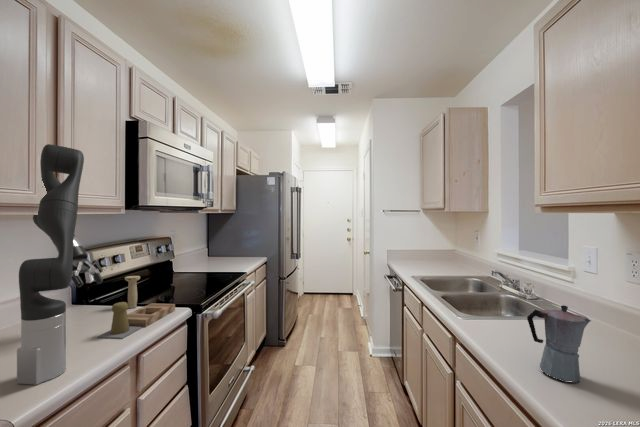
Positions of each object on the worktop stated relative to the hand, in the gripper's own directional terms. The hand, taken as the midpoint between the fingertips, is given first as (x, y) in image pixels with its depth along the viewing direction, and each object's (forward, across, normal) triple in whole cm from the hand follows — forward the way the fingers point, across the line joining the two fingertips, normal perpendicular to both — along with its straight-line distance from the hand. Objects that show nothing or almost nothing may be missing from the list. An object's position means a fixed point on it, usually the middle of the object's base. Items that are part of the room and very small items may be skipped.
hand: (91, 284), depth 111 cm
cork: (+21, +3, +2) cm, 22 cm away
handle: (+9, +30, +14) cm, 35 cm away
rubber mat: (+22, +3, +2) cm, 22 cm away
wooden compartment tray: (+20, +19, +1) cm, 28 cm away
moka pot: (+113, -12, -114) cm, 160 cm away
